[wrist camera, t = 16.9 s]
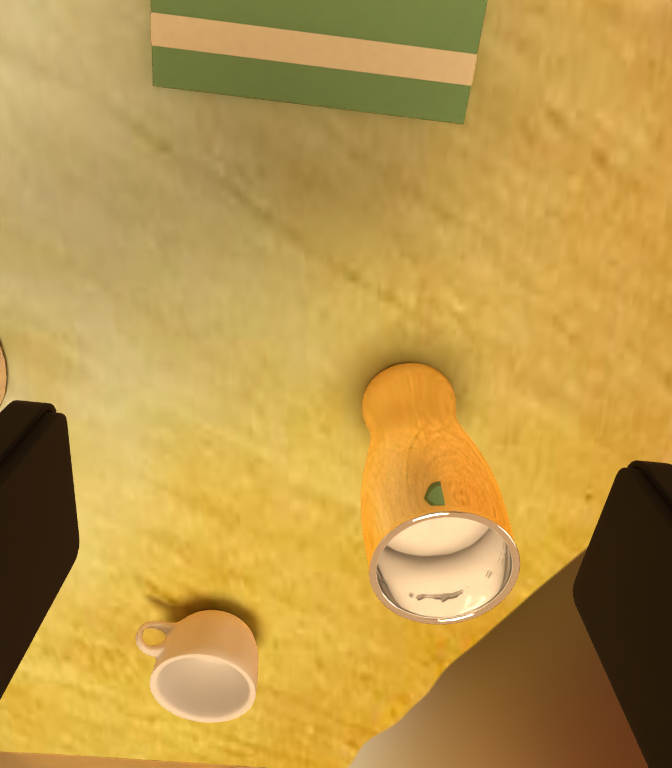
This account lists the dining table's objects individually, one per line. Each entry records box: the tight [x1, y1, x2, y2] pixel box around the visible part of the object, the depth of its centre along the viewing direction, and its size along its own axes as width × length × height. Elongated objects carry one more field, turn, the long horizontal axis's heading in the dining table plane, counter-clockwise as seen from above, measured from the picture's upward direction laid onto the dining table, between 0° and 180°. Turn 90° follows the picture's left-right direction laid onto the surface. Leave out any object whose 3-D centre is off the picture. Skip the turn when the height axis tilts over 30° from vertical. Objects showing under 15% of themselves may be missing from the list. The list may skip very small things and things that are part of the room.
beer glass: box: [361, 363, 520, 624], centre depth 33 cm, size 7×7×15 cm
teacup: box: [136, 610, 258, 723], centre depth 46 cm, size 10×8×5 cm
